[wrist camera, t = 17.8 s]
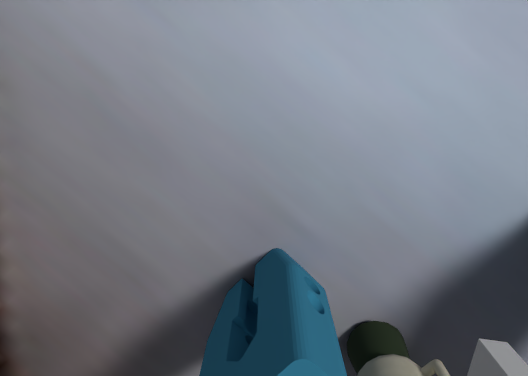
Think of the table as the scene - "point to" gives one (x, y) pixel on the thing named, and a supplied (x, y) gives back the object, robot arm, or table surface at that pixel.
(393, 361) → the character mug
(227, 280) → the table surface
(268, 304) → the block
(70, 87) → the table surface
